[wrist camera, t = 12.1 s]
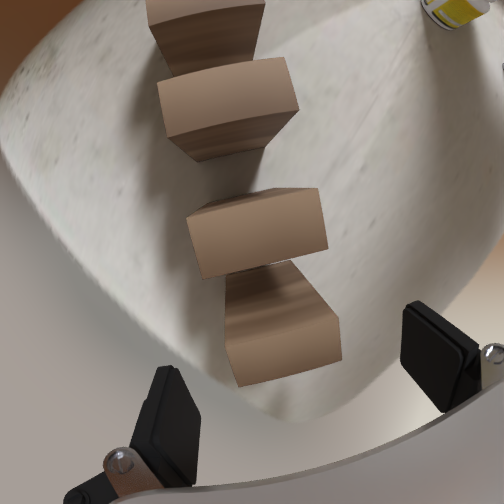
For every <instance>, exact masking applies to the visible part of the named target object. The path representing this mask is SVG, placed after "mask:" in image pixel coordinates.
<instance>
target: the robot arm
mask: <svg viewBox="0 0 504 504" xmlns="http://www.w3.org/2000/svg"><path fill="white" fill-rule="evenodd" d="M478 348H479V344H478V343H476V342H475V341H474V340H473V339H471V338H470V337H469V336H467V335H466V334H465V333H463V332H462V331H461V330H459V329H458V328H457V327H455V326H454V325H453V324H451V323H450V322H449V321H447V320H446V319H445V318H443V317H442V316H440V315H439V314H438V313H436V312H435V311H433V310H432V309H431V308H429V307H428V306H426V305H425V304H424V303H422V302H421V301H419V300H418V301H415V302H412V303H410V304H407V305H406V307H405V309H404V310H403V320H402V340H401V354H400V362H401V365H402V366H403V368H404V369H405V370H406V371H407V372H408V374H409V375H410V376H411V377H412V378H413V379H414V381H415V382H416V383H417V384H418V385H419V387H420V388H421V389H422V390H423V391H424V393H425V394H426V395H427V396H428V397H429V399H430V400H431V401H432V402H433V403H434V405H435V406H436V407H437V409H438V410H439V411H440V412H441V413H445V414H443V415H441V416H440V417H438V418H436V419H435V420H433V421H431V422H429V423H427V424H426V425H423V426H421V427H420V428H418V429H416V430H414V431H412V432H410V433H408V434H405V435H404V436H401V437H399V438H397V439H395V440H393V441H390V442H388V443H386V444H383V445H381V446H378V447H376V448H374V449H371V450H368V451H366V452H363V453H361V454H358V455H355V456H352V457H350V458H346V459H343V460H341V461H337V462H334V463H331V464H327V465H324V466H321V467H317V468H313V469H310V470H305V471H302V472H298V473H293V474H289V475H284V476H279V477H274V478H268V479H262V480H256V481H250V482H242V483H233V484H225V485H213V486H199V487H192V485H195V484H196V477H197V463H198V450H199V438H200V426H201V415H200V412H199V410H198V408H197V406H196V404H195V403H194V401H193V399H192V397H191V395H190V392H189V390H188V388H187V386H186V384H185V382H184V380H183V378H182V376H181V374H180V371H179V370H178V369H177V368H174V367H173V366H172V365H168V366H162V367H158V368H157V370H156V373H155V376H154V379H153V382H152V384H151V388H150V390H149V393H148V397H147V399H146V400H145V401H144V403H143V405H142V408H141V411H140V414H139V417H138V420H137V423H136V426H135V430H134V433H133V436H132V439H131V442H130V445H129V447H120V448H116V449H114V450H112V451H111V452H109V453H108V454H107V455H106V457H105V459H104V461H103V468H104V472H102V473H100V474H98V475H97V476H95V477H93V478H91V479H90V480H88V481H86V482H84V483H83V484H81V485H79V486H77V487H75V488H73V489H72V490H70V491H69V492H68V493H67V494H66V495H65V497H64V500H63V504H504V345H502V344H499V343H492V344H488V345H486V346H485V347H484V348H483V349H482V351H481V350H480V349H478Z"/></svg>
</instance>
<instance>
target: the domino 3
mask: <svg viewBox="0 0 504 504" xmlns="http://www.w3.org/2000/svg"><path fill="white" fill-rule="evenodd" d="M186 220H187V224H188V228H189V232H190V236H191V240H192V243H193V247H194V251H195V254H196V258H197V261H198V265H199V269H200V272H201V276H202V279H207V278H212V277H216V276H220V275H224V274H229V273H233V272H237V271H241V270H245V269H250V268H254V267H258V266H262V265H266V264H270V263H274V262H279V261H283V260H287V259H291V258H295V257H299V256H303V255H307V254H311V253H315V252H319V251H323V250H327V249H328V243H327V236H326V230H325V224H324V219H323V213H322V208H321V202H320V197H319V192H318V188H272V189H267V190H263V191H258V192H254V193H249V194H245V195H241V196H236V197H232V198H228V199H224V200H220V201H215V202H211V203H207V204H206V205H204V206H203V207H201V208H200V209H198V210H197V211H196V212H194V213H193V214H191V215H190V216H189V217H187V218H186Z"/></svg>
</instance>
